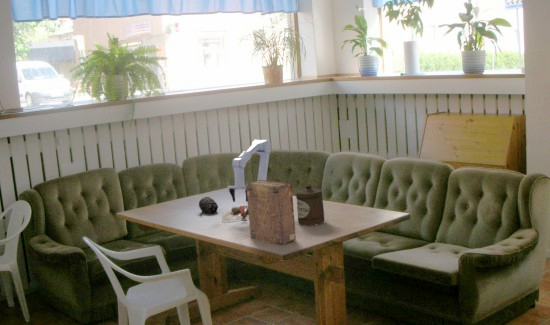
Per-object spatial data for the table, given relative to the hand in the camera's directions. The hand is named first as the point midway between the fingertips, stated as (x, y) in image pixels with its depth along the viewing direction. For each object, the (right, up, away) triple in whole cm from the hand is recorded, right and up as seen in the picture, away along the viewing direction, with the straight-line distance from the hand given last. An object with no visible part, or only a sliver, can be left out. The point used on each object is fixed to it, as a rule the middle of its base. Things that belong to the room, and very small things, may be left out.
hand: (240, 201), depth 427 cm
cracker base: (-2, -10, +10) cm, 14 cm away
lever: (+2, -7, +8) cm, 11 cm away
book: (+19, -17, -49) cm, 56 cm away
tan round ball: (-4, -8, +14) cm, 17 cm away
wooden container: (+41, -11, -20) cm, 47 cm away
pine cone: (-20, -9, +26) cm, 34 cm away
